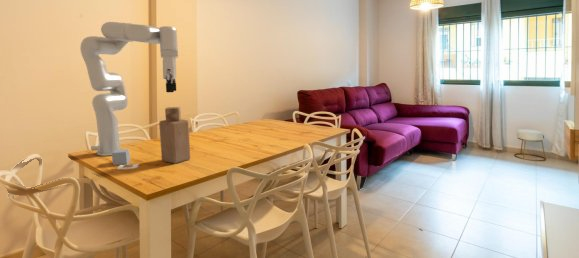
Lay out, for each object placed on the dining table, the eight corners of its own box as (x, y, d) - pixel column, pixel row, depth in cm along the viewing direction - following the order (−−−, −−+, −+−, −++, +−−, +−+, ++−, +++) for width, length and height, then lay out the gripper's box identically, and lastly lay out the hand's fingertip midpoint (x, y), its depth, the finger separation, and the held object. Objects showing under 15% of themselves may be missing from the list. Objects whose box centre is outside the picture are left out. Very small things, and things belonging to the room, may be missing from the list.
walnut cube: (165, 121, 152) (165, 108, 151) (168, 119, 157) (167, 107, 156) (179, 121, 153) (178, 108, 152) (180, 119, 159) (180, 107, 157)
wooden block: (174, 164, 152) (171, 122, 148) (161, 161, 157) (158, 120, 154) (191, 159, 160) (189, 119, 157) (177, 156, 166) (175, 118, 162)
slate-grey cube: (113, 165, 151) (111, 152, 150) (116, 161, 157) (115, 149, 156) (126, 164, 152) (125, 152, 151) (130, 161, 158) (129, 149, 157)
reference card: (117, 169, 144) (117, 167, 144) (120, 166, 149) (120, 164, 149) (136, 168, 146) (136, 166, 146) (139, 165, 151) (138, 163, 150)
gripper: (163, 55, 157) (165, 90, 160) (157, 53, 140) (160, 92, 144) (179, 55, 159) (181, 90, 162) (175, 53, 142) (177, 92, 145)
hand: (171, 91), depth 153 cm, fingers open, 9 cm apart
